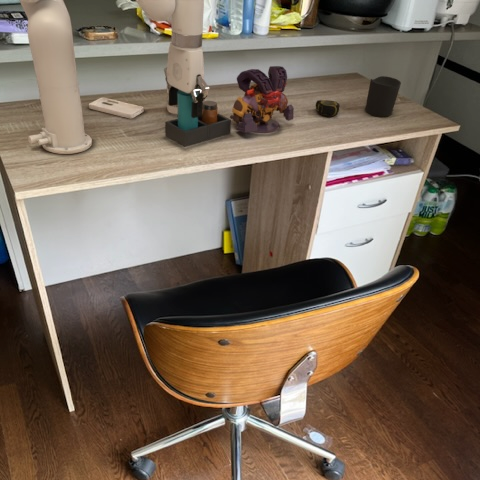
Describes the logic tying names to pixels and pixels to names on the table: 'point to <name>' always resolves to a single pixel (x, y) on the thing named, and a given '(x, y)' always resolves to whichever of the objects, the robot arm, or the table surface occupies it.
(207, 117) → the spice jar
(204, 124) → the cup holder
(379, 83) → the pen holder
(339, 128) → the table surface
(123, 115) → the phone case
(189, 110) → the water bottle
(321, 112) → the tape measure
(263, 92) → the figurine
